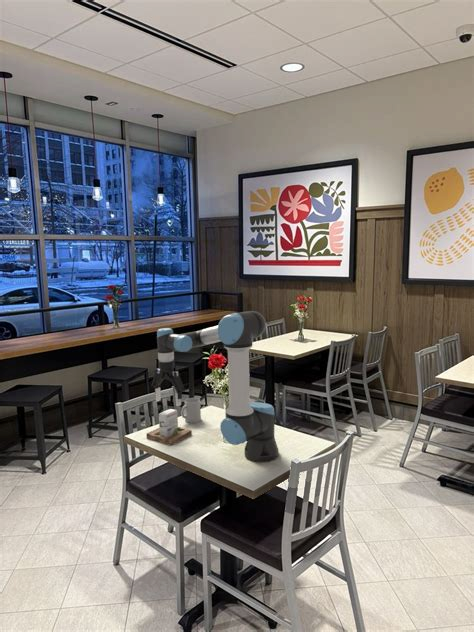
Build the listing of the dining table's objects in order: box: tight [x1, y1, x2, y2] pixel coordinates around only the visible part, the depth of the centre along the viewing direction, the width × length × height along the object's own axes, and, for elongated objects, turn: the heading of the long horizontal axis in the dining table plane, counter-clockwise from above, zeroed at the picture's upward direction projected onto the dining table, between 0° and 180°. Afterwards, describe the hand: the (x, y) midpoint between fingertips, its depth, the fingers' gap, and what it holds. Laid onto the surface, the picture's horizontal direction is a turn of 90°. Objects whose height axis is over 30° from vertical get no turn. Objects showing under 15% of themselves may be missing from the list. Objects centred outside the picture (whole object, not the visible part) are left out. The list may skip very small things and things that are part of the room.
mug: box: [180, 397, 202, 424], centre depth 244 cm, size 12×8×11 cm
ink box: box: [158, 408, 179, 438], centre depth 224 cm, size 8×5×12 cm, turn 145°
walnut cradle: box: [146, 426, 193, 446], centre depth 224 cm, size 16×15×2 cm
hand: (168, 403), depth 222 cm, fingers open, 13 cm apart
